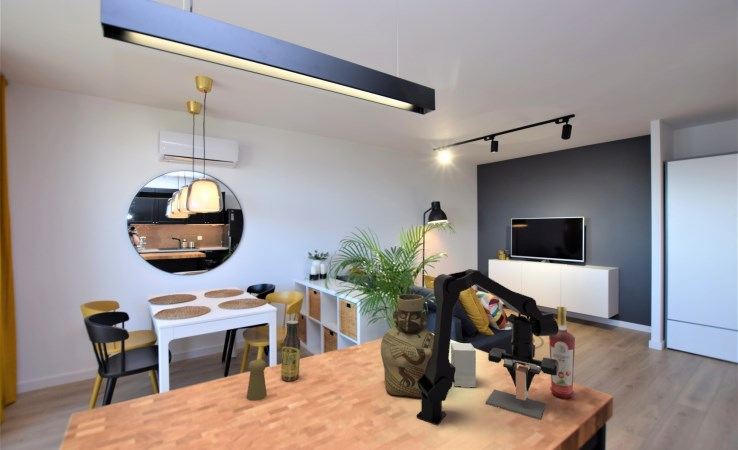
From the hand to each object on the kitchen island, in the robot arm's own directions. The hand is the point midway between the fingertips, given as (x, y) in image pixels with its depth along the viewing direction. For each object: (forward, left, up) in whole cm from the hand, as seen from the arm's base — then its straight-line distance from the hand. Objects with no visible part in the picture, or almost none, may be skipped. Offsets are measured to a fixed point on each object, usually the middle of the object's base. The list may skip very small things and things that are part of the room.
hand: (522, 389), depth 102 cm
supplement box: (+5, +20, -5) cm, 21 cm away
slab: (0, 0, -2) cm, 2 cm away
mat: (0, +2, -5) cm, 5 cm away
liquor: (+15, -9, -5) cm, 18 cm away
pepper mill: (-42, +70, -5) cm, 82 cm away
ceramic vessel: (-8, +34, -5) cm, 35 cm away
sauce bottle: (-27, +71, -5) cm, 76 cm away
